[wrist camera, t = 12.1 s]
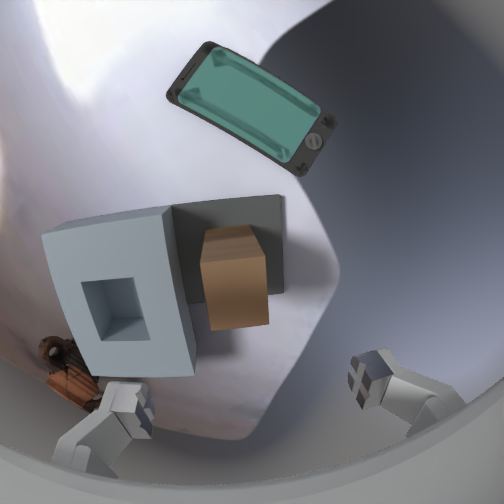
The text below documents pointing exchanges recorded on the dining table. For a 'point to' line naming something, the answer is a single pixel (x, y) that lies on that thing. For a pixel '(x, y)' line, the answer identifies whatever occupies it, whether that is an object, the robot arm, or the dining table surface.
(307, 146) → the smartphone
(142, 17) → the dining table surface
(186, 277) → the rubber mat
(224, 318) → the walnut block
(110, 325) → the pocket holder
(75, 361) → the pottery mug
